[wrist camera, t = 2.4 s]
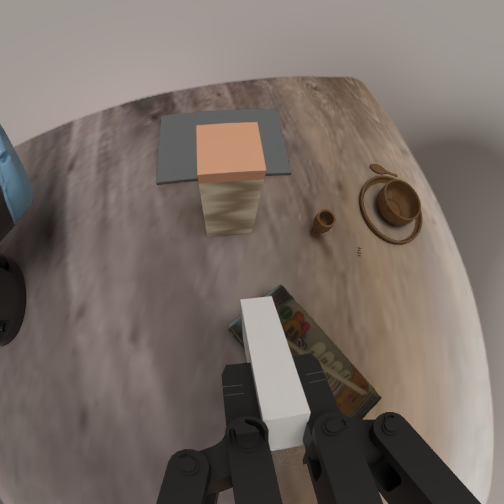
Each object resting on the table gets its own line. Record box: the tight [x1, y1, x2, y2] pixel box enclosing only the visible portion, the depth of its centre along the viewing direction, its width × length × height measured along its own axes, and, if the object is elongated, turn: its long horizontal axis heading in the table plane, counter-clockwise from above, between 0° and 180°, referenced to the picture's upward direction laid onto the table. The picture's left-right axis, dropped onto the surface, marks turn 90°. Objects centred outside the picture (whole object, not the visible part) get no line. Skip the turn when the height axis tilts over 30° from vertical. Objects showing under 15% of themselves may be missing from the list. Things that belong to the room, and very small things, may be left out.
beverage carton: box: [228, 285, 381, 420], centre depth 31 cm, size 8×19×7 cm, turn 40°
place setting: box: [311, 164, 422, 256], centre depth 40 cm, size 18×20×6 cm
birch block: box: [196, 122, 266, 237], centre depth 32 cm, size 6×6×15 cm
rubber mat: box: [156, 109, 291, 185], centre depth 43 cm, size 20×14×1 cm
